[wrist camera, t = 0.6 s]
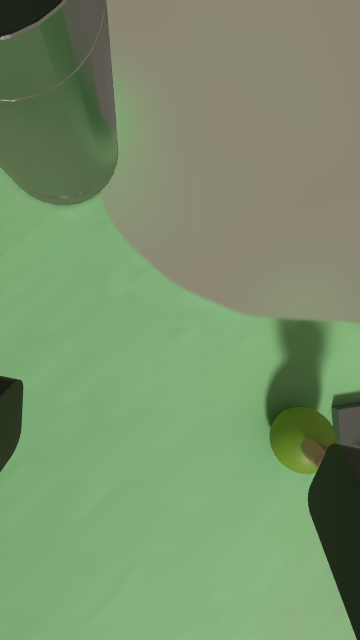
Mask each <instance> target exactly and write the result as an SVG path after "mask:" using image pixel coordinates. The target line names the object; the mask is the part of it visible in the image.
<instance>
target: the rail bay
mask: <svg viewBox="0 0 360 640" xmlns="http://www.w3.org/2000/svg"><path fill="white" fill-rule="evenodd" d="M332 417H333V429H334V431H335V434H336V438H337V444H341V445H346V446H351V447H356V448H360V402H356V403H350V404H344V405H338V406H332Z"/></svg>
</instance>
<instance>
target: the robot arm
mask: <svg viewBox="0 0 360 640" xmlns="http://www.w3.org/2000/svg"><path fill="white" fill-rule="evenodd" d="M117 158H118V143H117V132H116V115H115V103H114V91H113V79H112V66H111V55H110V41H109V30H108V17H107V5H106V0H0V167H1V168H2V169H3V170H4V171H5V172H6V173H7V174H8V175H9V176H10V177H11V178H12V179H13V180H14V181H15V183H16V184H17V185H18V186H19V187H20V188H21V189H23V190H24V191H25V192H27V193H28V194H29V195H31V196H33V197H35V198H37V199H39V200H41V201H44V202H48V203H52V204H57V205H70V204H76V203H80V202H83V201H85V200H88V199H90V198H92V197H93V196H95V195H96V194H98V193H99V192H100V191H101V190H102V189H103V188H104V187H105V186H106V185H107V184H108V182H109V180H110V179H111V177H112V175H113V174H114V171H115V167H116V164H117ZM22 404H23V383H22V381H21V380H18V379H13V378H8V377H3V376H0V472H1V470H2V469H3V467H4V466H5V465H6V463H7V462H8V460H9V459H10V457H11V456H12V454H13V453H14V451H15V449H16V446H17V444H18V441H19V438H20V434H21V425H22ZM308 506H309V511H310V514H311V517H312V520H313V522H314V525H315V528H316V530H317V533H318V536H319V539H320V541H321V544H322V547H323V549H324V552H325V555H326V557H327V560H328V563H329V565H330V568H331V571H332V574H333V576H334V579H335V582H336V584H337V587H338V590H339V592H340V595H341V598H342V601H343V603H344V606H345V609H346V611H347V614H348V617H349V619H350V622H351V625H352V628H353V630H354V633H355V636H356V638H357V640H360V448H356V447H351V446H346V445H341V444H336V443H333V444H331V445H330V446H329V447H328V449H327V451H326V453H325V455H324V457H323V459H322V461H321V464H320V466H319V468H318V470H317V472H316V474H315V477H314V479H313V481H312V483H311V485H310V488H309V493H308Z"/></svg>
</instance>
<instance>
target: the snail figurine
mask: <svg viewBox="0 0 360 640" xmlns="http://www.w3.org/2000/svg"><path fill="white" fill-rule="evenodd" d="M333 443H336V444H337V438H336V434H335V431H334V429H333V427H332V425H331V424H330V422H329V421H328V420H327V419H326V418H325V417H324V416H323V415H322V414H320V413H319V412H317V411H315V410H313V409H311V408H307V407H292V408H289V409H286V410H284V411H283V412H281V413H280V414H279V415H278V416H277V417H276V418H275V420H274V421H273V423H272V426H271V429H270V444H271V447H272V450H273V452H274V454H275V456H276V457H277V459H278V460H279V461H280V462H281V463H282V464H283V465H284V466H286V467H287V468H289V469H290V470H292V471H295V472H298V473H302V474H312V473H316V472H317V470H318V468H319V466H320V464H321V461H322V459H323V457H324V455H325V453H326V451H327V449H328V447H329V446H330V445H331V444H333Z"/></svg>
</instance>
